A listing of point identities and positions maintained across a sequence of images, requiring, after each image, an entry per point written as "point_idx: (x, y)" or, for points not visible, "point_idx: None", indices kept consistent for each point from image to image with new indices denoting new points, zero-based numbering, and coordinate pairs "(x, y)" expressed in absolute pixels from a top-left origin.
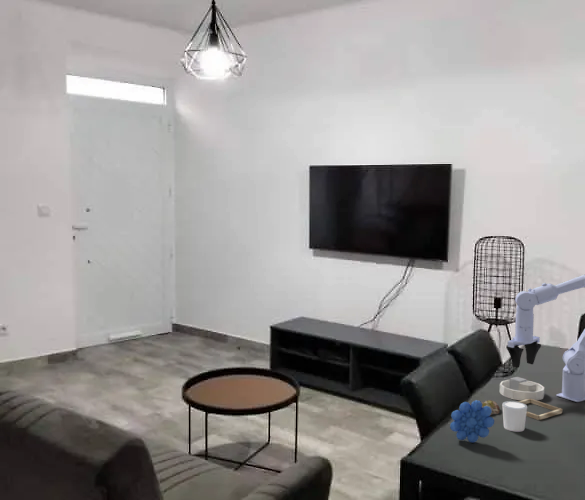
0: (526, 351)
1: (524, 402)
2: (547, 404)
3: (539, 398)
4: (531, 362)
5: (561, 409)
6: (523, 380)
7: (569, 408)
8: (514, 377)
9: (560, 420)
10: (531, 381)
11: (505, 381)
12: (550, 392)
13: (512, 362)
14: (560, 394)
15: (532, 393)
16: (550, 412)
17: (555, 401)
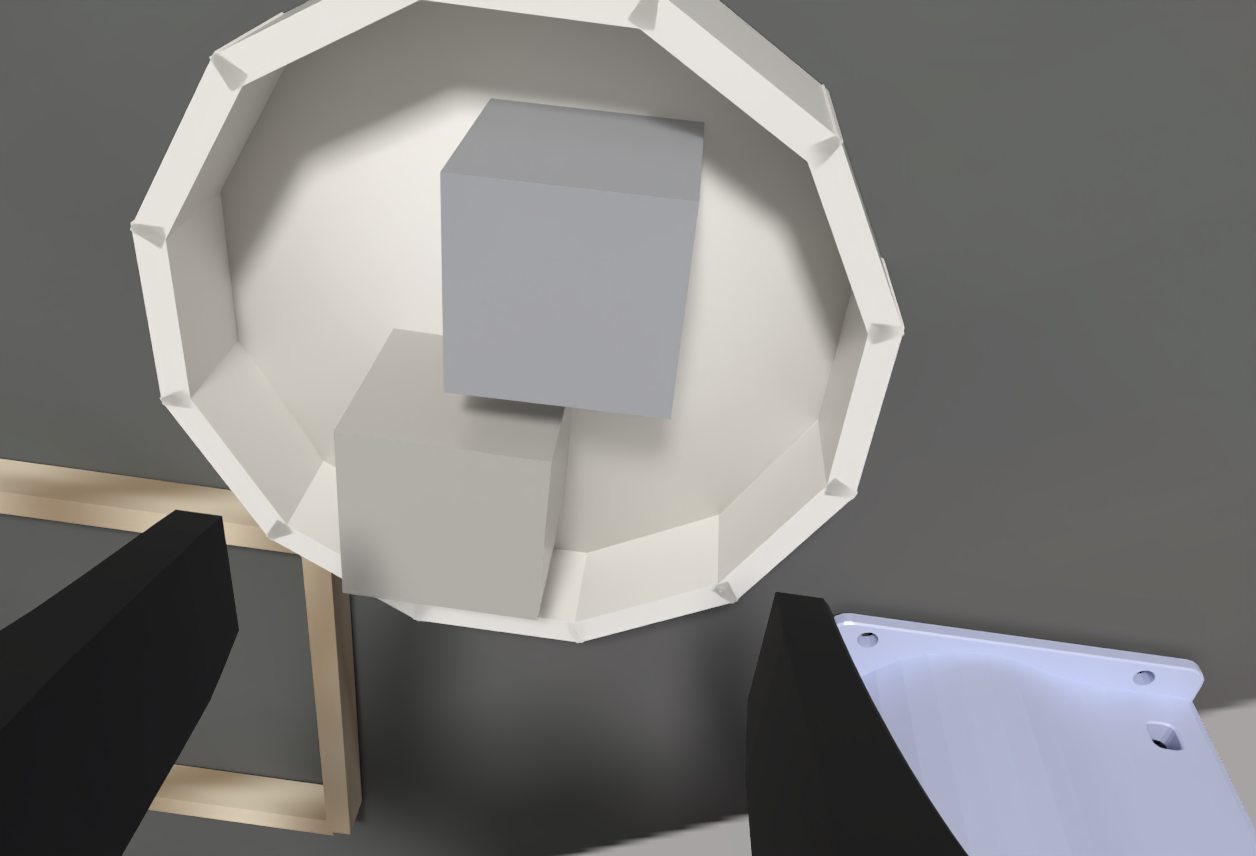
0: (830, 853)
1: None
2: (330, 722)
3: None
4: (752, 723)
5: (327, 833)
6: (563, 406)
7: (537, 800)
8: (597, 199)
9: (175, 841)
10: (893, 358)
11: (498, 8)
12: (955, 508)
13: (97, 578)
14: (881, 652)
15: None
16: (153, 807)
17: (632, 664)
